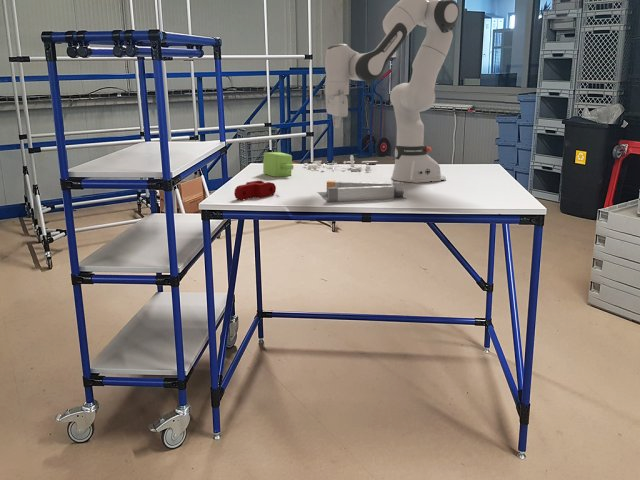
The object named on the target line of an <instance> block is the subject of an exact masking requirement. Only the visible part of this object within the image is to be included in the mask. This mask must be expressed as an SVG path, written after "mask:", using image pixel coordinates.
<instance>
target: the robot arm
mask: <svg viewBox="0 0 640 480" xmlns="http://www.w3.org/2000/svg"><path fill="white" fill-rule="evenodd" d="M459 10H460V9H459V4H458V3H457V2H456V0H399V1H397V3H395V4H394V6H392V8H391V9H390V10H389V11H388V12H387V14H386V15H385V16H384V19H383V20H382V29H383V31H384V33H385V36H384V37H383V39H382V40H381V41H380V42H379V43H378V45H377V46H376V48H375V49H373V50H371V51H369V52H365V53H360V52H358V51H356V50H353V49H352V48H351V47H350V46H349V45H348V44H346V43H338V44H333V45H329V46H328V47H327V49H326V51H325V52H326V53H325V61H324V62H325V63H324V70H325V71H324V72H325V74H326V75H325V80H324V82H325V84H324V88H323V94H324V95H325V109H326V113H327V114H328V115H331V116H332V117H331V118H332V123H333V127H334V128H336V129H341V123H342V118H345V117H347V118H348V115H349V105H348V104H349V101H348V96H347V95H350V92H349V91H350V80H352V81H357V82H358V81H359V82H360V81H361V82H363V81H364V82H368V83H373V82H376V81H378V80H380V78H382V76H383V74H384V71H385V69H386V66H387V64H388V62H389V61H390V59H392V57H393V56H394V54H395V53H396V52H397V51H398V49H399V48H400V47H401V45H402V44H403V42H404V41H405V40H406V38H407V37H408V35H409V34H410V33H411V32H412V31H413V29H414V28H416V26H417V27H420V28H422V27H424V28H426V34H425V37H424V39H423V41H422V42H421V44H420V47H419V49H418V51H417V53H416V55H415V57H414V59H413V62H412V64H411V67H412V73H411V77H410V81H409V82H403V83H399V84H398V85H395V86H394V87H393V88H392V89H391V91H390V94H389V99H390V103H391V105H392V106H393V112H394V118H395V122H396V143H395V146H394V148H395V149H394V168H393V171H392V175H391V180H394V181H396V182H404V183H405V182H406V183H408V182H409V183H412V184H413V183H417V184H418V183H419V184H420V183H429V182H430V181H432V182H440V181H441V180H444V181H446V179H447V178H446V176H445V175H443V174H442V173H441V172H442V171H441V166H440V165H439V163H438V162H437V161H436V160H435V159H433V158H432V157H431V156H430V155H429V154H428V153H430V152H432V147H431V146H425V145H424V140H425V124H424V122H423V121H422V118H421V114H420V113H421V112H424V111H427V110H429V109H431V108H432V107H433V106H434V104H435V101H436V93H435V87H436V83H437V78H438V75H439V72H440V71H441V69H442V66H443V64H444V62H445V60H446V57H447V56H448V53H449V51H450V47H451V44H452V41H453V38H454V34H453V29H454V27H455V25H456V23H457V22H458V18H459V15H460V14H459V12H460V11H459Z"/></svg>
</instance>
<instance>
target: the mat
mask: <svg viewBox="0 0 640 480" xmlns="http://www.w3.org/2000/svg"><path fill="white" fill-rule="evenodd" d="M316 193H317V194H318V195H320V197H321V198H322V199H323V200H325V201H326V202H327V203H330V204H331V203H333V204H334V202H329V201H328V200H327V196H328V193H327V191H318V192H316ZM395 200H407V197H405V196H403V198H394V199H380V200H379V201H395ZM369 201H370V202H372V201H373V202H374V201H376V200H359V201H358V202H369ZM348 202H349V203H351V202H355V201H338V202H337V203H348Z"/></svg>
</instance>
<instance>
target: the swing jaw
mask: <svg viewBox="0 0 640 480" xmlns="http://www.w3.org/2000/svg"><path fill="white" fill-rule="evenodd" d="M370 186H392V182H371V181H370V182H369V181H336V180H327V181H326V192H327V193H328V187H337V188H346V187H370Z"/></svg>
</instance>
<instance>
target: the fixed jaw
mask: <svg viewBox="0 0 640 480" xmlns="http://www.w3.org/2000/svg"><path fill="white" fill-rule="evenodd" d="M404 192H405V181H393V182H391V186H370V187H346V188H337V187H328V196H327V200H328V201H329V202H333V203H339V202H338V201H354V202H360V201H359V200H375V201H381V200H380V199H394V198H403V197H405V196H404V195H405V193H404Z"/></svg>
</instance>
